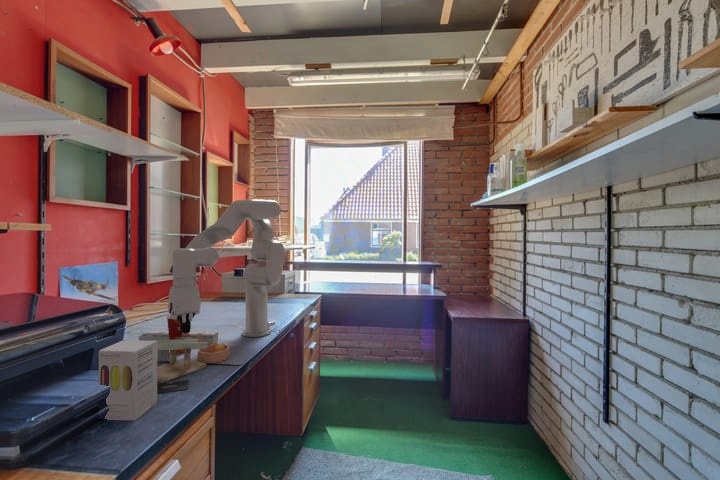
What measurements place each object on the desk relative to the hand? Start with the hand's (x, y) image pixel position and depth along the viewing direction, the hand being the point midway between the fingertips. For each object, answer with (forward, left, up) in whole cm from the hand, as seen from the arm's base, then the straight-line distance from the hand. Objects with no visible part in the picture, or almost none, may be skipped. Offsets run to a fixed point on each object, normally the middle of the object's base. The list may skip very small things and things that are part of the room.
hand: (185, 332), depth 127 cm
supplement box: (+30, +25, -9) cm, 40 cm away
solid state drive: (+17, +20, -10) cm, 28 cm away
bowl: (-5, +9, -9) cm, 14 cm away
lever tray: (+8, +5, -5) cm, 11 cm away
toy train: (-8, -18, -10) cm, 22 cm away
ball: (-8, +9, -7) cm, 14 cm away
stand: (+9, +9, -9) cm, 16 cm away
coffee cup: (-2, -8, -9) cm, 12 cm away
